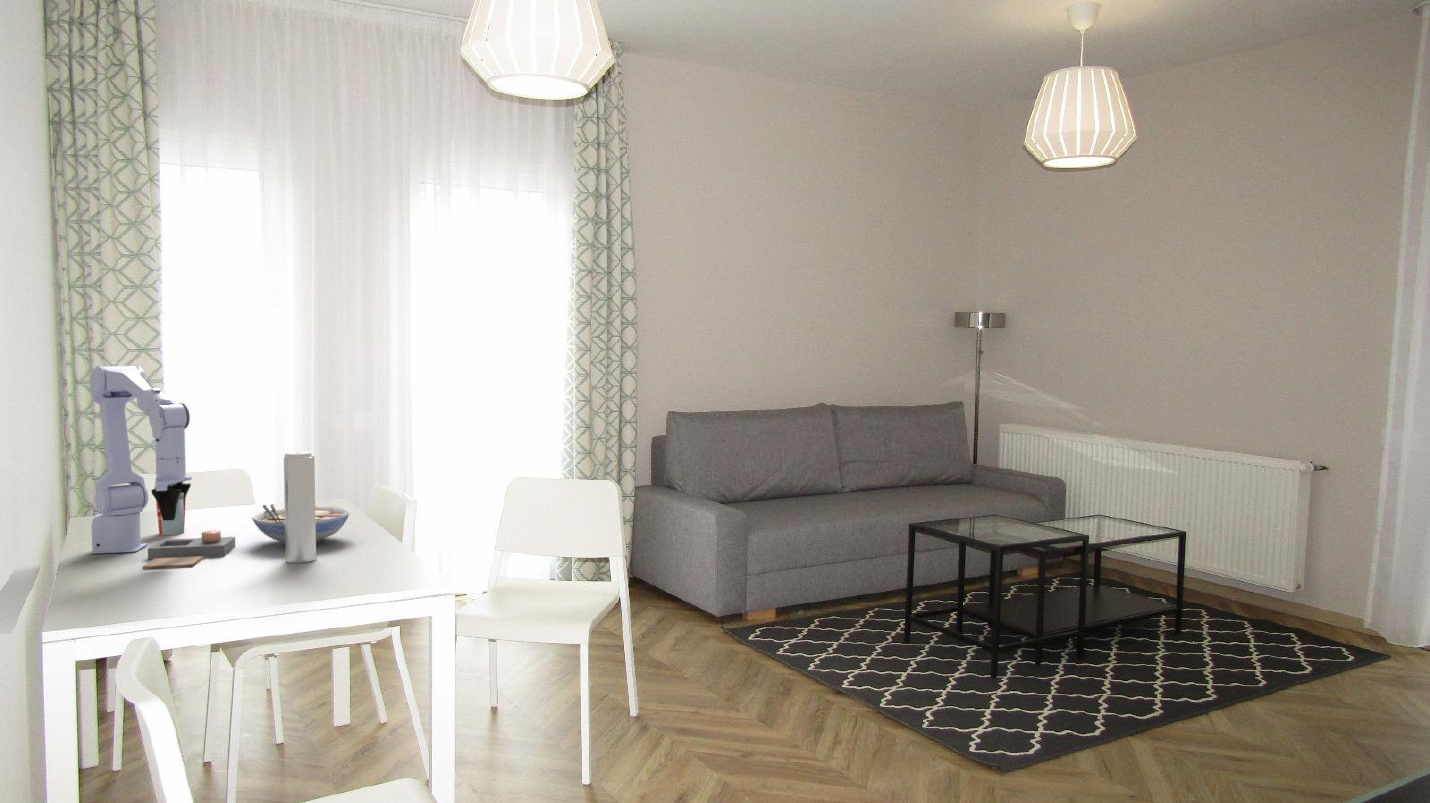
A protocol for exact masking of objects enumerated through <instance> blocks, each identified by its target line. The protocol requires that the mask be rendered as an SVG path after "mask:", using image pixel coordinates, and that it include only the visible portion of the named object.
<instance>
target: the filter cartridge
mask: <svg viewBox="0 0 1430 803" xmlns="http://www.w3.org/2000/svg"><path fill="white" fill-rule="evenodd" d="M183 498H184V493H183V492H181V493H180V495H179V498H178V501H177V507H176V515H175V519H174V520H165V521H164V520H163V518H162V515H161V530H162V535H161V536H176V535H182V534H184V533H185V525H184V505H183Z"/></svg>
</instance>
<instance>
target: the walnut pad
mask: <svg viewBox="0 0 1430 803" xmlns="http://www.w3.org/2000/svg"><path fill="white" fill-rule="evenodd" d="M203 560H204V557H203V556H197V557H173V558H154V559H150V561H148V562H147V563H146V564H144V565H142V570H153V569H155V570H156V569H175V568H176V569H177V568H179V569H180V568H194V566H196V565H198V563H200V562H201V561H203Z"/></svg>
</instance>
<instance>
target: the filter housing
mask: <svg viewBox="0 0 1430 803" xmlns="http://www.w3.org/2000/svg"><path fill="white" fill-rule="evenodd" d="M235 548H236V536H223V537H222V536H221V540H220V541H216V542H202V537H199V538H197V537H196V538H194V537H193V538H171V539H170V538H169V539H168V538H167V539H161V540H159V541H157V542H156V543H154V544H152V545H151V546H149V547H148V548H147V560H153V559H154V558H173V557H197V556H203V558H208V557H209V558H210V557H211V558H213V557H225V556H226V555H228V554H229V553H230V552H231V551H232V550H234V549H235Z"/></svg>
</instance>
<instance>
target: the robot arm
mask: <svg viewBox="0 0 1430 803" xmlns="http://www.w3.org/2000/svg"><path fill="white" fill-rule="evenodd" d="M89 386H90V394H91V397H92V402H94V403H96V404H97V405H99V411H100V419H101V429H102V437H103V446H104V452H105V453H104V454H105V462H106V463H105V464H106V471H107V473H106V474H104V475H103V476H102V477H101V478H100V479H99V480H97V482H96V483H95V485H94V489H95V490H94V498H93V499H94V507H95V509H96V510H97V512H99V513H97V514H95V515H94V516H93V518H92V521H91V548H92V549H91V550H92V551H91V552H90V553H91V555H92V554H115V553H136V552H138V551H139V550H142V549H143V548H144V547H146V546H148V543H146V542H143V543H141V542H142V540H141V512H143V510H144V509H145V508H146V506H147V505H148V503H149V490H148V489H147V487H146V484H145V478H144V477H143V476H141V475H140V474H138V473H136V472H134V471H133V470H132V461H131V460H132V459H131V453H130V444H129V434H128V428H127V426H128V425H127V418H126V410H125V407H126V405H127V404H128V403H129V402H131V401H134V400H135V399H137V400H136V405H137V407H138V408H139V409H140V410H141V411H142V412H143V413H144V414H145V415H147V417H148V421H149V424H150V425H149V426H150V427H151V430H152V431H151V433H152V434H151V435H152V438H154V439H155V445H154V446H155V474H156V477H155V479H154V480H155V481H156V489H155V488H153V489H151V494H152V496H153V497H154V499H155V502H156V501H157V503H158V505H159V508H160V512H161V515H162V518H163V520H164V521H165V520H174V519H175V515H176V507H177V501H178V498H179V495H180V493H181V492H183V493H184V498H183V505H184V501H185V498H187V494H188V492H189V490H190V489H191V486H192V485H191V483H190V482H189V483H188V482H187V481H192V480H193V477H192V476H187V470H186V469H187V468H186V434H185V430H186V429H188V427H189V424H190V420H191V419H190V418H191V414H190V411H189V408H188V406H187V405H186V404H185V403H184V402H179V403H175V402H174V400H173V401H172V399H170V398H169V397H168V395H166V394H165V393H164V392H163V391H162V390H161V389H160V388H159V387H153V388H152V387H151V386H150V385H149V383H148V382H147V381H146V374H145V370H144V369H143V367H141V366H140V365H125V366H117V365H115V366H109V365H108V366H102V365H96V366H95V367H94V368H93V369H92V370H91V373H90V376H89ZM155 481H154V482H155ZM185 481H186V483H182V482H185ZM112 485H113V486H112ZM185 502H186V501H185Z"/></svg>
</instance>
